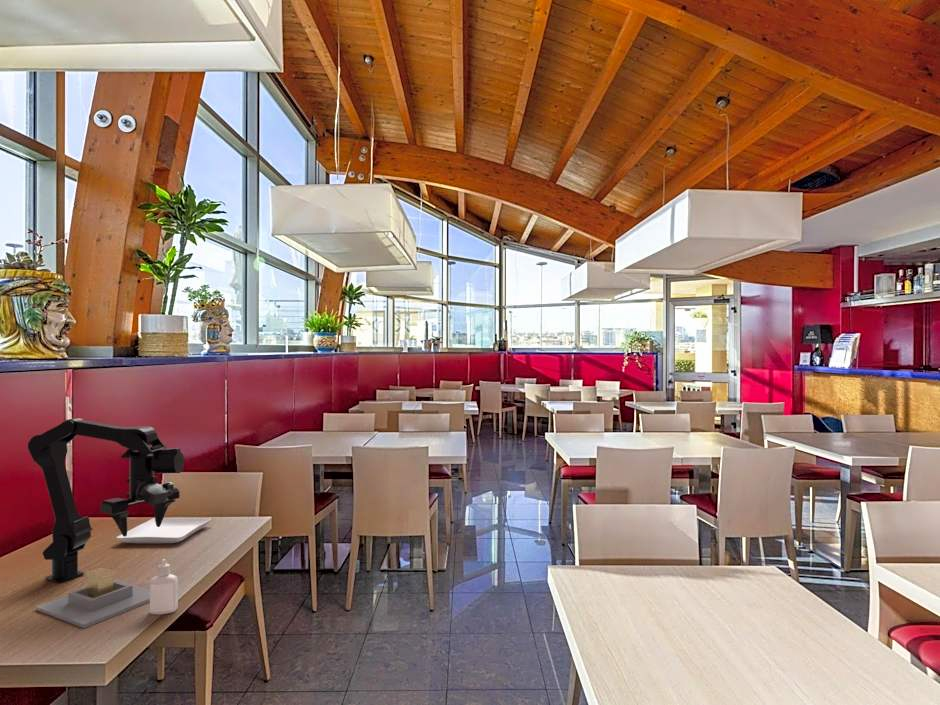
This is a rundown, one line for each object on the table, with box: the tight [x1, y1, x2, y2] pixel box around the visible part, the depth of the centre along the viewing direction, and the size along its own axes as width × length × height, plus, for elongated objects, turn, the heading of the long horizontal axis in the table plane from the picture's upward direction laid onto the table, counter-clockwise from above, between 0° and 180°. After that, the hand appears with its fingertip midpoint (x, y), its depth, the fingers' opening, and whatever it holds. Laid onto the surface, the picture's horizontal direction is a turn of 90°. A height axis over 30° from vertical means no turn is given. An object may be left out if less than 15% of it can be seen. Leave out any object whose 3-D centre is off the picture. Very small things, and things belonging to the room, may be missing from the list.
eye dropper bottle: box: [149, 558, 179, 615], centre depth 128 cm, size 4×6×12 cm
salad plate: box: [116, 517, 212, 544], centre depth 184 cm, size 21×21×3 cm
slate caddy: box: [35, 578, 150, 629], centre depth 133 cm, size 20×18×3 cm
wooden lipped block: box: [85, 566, 117, 598], centre depth 133 cm, size 6×4×7 cm, turn 63°
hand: (142, 531), depth 150 cm, fingers open, 9 cm apart
